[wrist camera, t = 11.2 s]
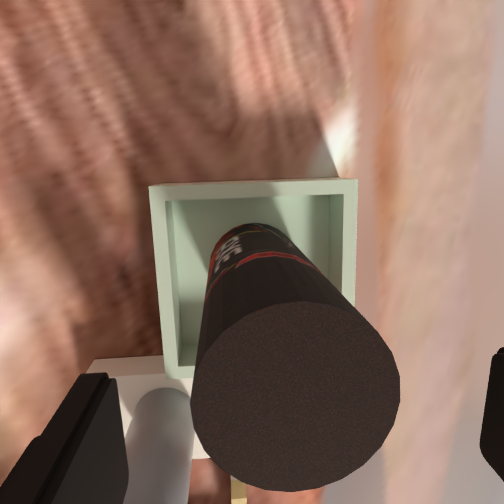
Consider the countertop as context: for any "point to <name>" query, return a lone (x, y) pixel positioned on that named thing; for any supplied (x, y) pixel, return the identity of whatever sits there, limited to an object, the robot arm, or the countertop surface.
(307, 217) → the tray
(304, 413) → the deodorant
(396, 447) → the countertop surface
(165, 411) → the fuse block
